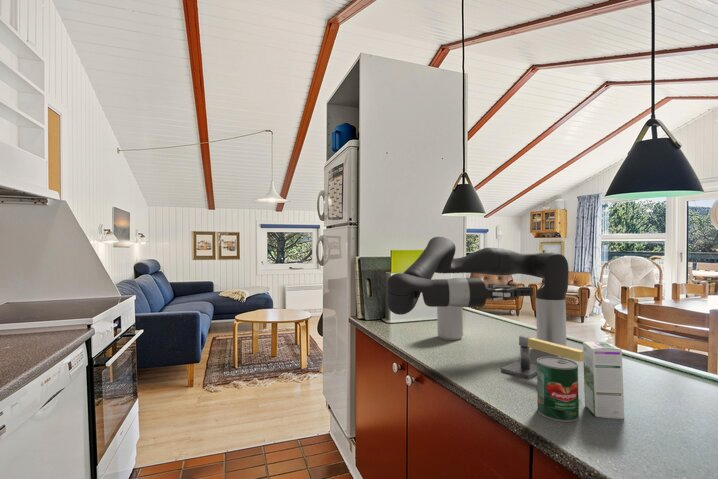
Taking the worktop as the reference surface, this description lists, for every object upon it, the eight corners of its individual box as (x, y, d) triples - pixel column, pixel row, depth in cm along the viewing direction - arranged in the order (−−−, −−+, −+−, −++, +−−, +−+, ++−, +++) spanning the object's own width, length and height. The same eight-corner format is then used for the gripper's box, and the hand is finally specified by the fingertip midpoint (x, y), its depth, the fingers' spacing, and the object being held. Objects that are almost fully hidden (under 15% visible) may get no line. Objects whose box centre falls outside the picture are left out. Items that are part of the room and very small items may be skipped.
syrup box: (625, 419, 76) (624, 348, 76) (593, 417, 77) (592, 347, 78) (612, 407, 82) (611, 341, 82) (583, 405, 83) (581, 340, 83)
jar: (436, 334, 151) (436, 290, 151) (461, 334, 150) (460, 290, 150) (438, 340, 141) (437, 293, 142) (464, 341, 140) (464, 293, 140)
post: (518, 364, 112) (518, 341, 112) (545, 371, 106) (545, 346, 106) (501, 371, 106) (500, 346, 106) (528, 379, 99) (528, 353, 100)
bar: (516, 344, 107) (516, 336, 107) (524, 343, 108) (523, 335, 109) (578, 362, 91) (578, 352, 91) (586, 360, 92) (586, 350, 92)
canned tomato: (561, 425, 74) (560, 370, 74) (529, 409, 81) (528, 359, 81) (587, 417, 77) (586, 364, 77) (554, 403, 84) (553, 354, 85)
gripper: (471, 280, 89) (543, 278, 89) (457, 275, 102) (520, 274, 102) (472, 311, 89) (544, 310, 89) (458, 303, 102) (521, 301, 102)
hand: (531, 291), depth 95 cm, fingers closed
